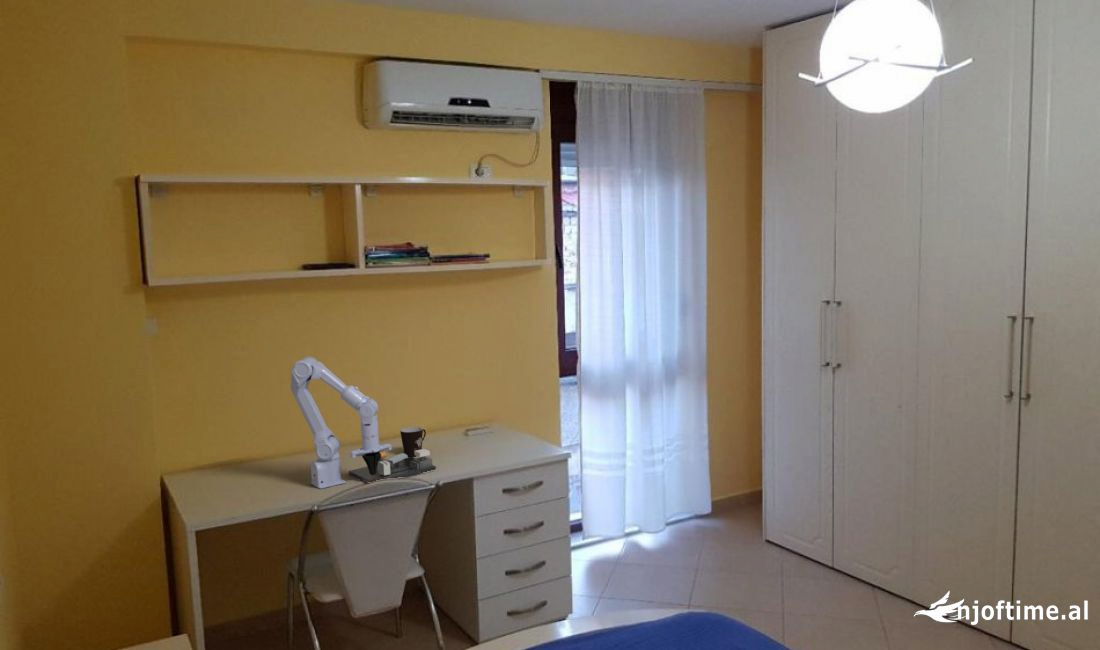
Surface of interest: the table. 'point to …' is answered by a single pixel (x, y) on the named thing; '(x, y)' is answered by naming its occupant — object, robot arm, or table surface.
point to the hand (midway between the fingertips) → (372, 474)
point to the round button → (382, 455)
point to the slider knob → (384, 467)
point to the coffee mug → (412, 440)
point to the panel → (396, 469)
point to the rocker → (397, 458)
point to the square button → (422, 453)
